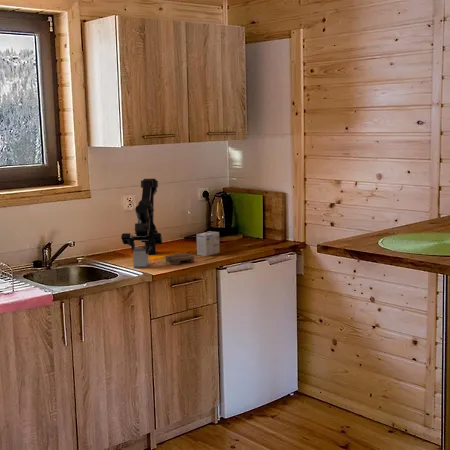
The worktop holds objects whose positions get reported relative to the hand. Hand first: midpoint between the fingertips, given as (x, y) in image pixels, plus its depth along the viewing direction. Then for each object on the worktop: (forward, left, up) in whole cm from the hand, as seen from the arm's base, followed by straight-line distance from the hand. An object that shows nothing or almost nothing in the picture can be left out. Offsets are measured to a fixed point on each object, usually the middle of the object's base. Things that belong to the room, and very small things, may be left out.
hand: (140, 253), depth 322 cm
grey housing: (-1, 0, -7) cm, 7 cm away
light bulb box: (-30, +29, -7) cm, 43 cm away
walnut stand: (-11, +17, -7) cm, 21 cm away
